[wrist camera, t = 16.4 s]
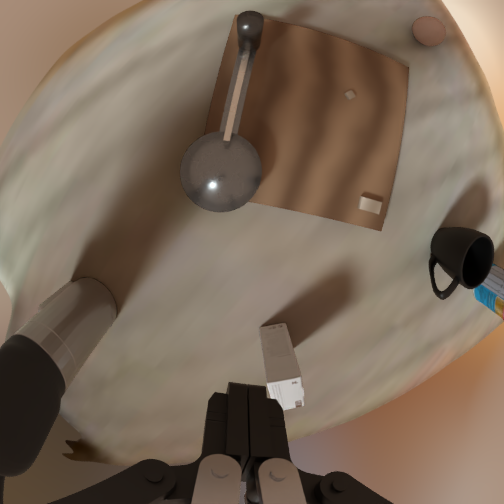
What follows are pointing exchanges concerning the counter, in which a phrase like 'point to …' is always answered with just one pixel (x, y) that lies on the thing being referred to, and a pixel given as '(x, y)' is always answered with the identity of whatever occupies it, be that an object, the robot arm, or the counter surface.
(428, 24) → the egg
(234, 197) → the crank handle
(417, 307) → the counter surface
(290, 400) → the skincare box
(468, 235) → the mug
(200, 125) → the counter surface
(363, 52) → the board
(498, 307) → the beverage bottle
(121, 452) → the counter surface
